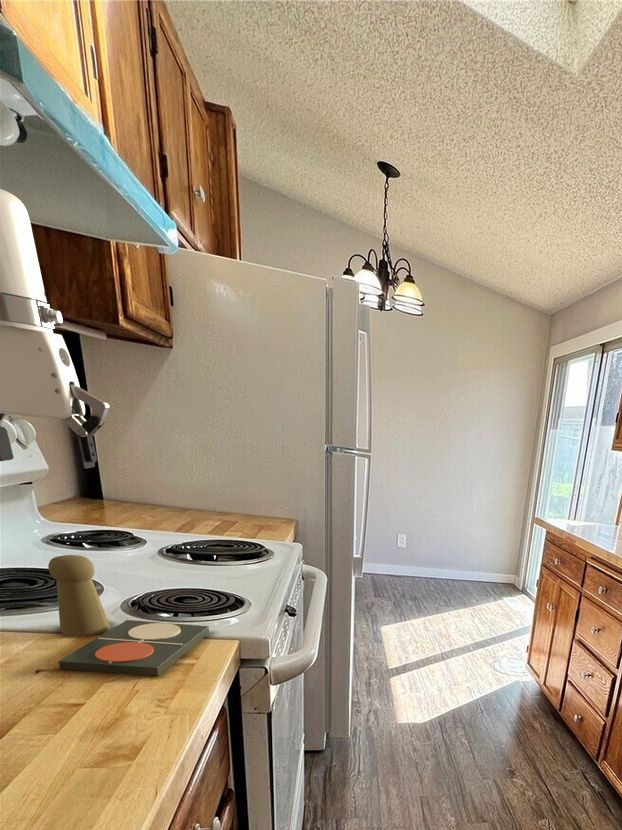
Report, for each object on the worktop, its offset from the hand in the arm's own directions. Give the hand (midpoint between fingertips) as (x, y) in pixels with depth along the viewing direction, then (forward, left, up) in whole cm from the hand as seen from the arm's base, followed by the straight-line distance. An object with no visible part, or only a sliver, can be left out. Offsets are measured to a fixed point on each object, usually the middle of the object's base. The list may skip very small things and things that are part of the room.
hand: (46, 463), depth 75 cm
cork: (+1, -2, -23) cm, 23 cm away
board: (+12, -8, -23) cm, 27 cm away
